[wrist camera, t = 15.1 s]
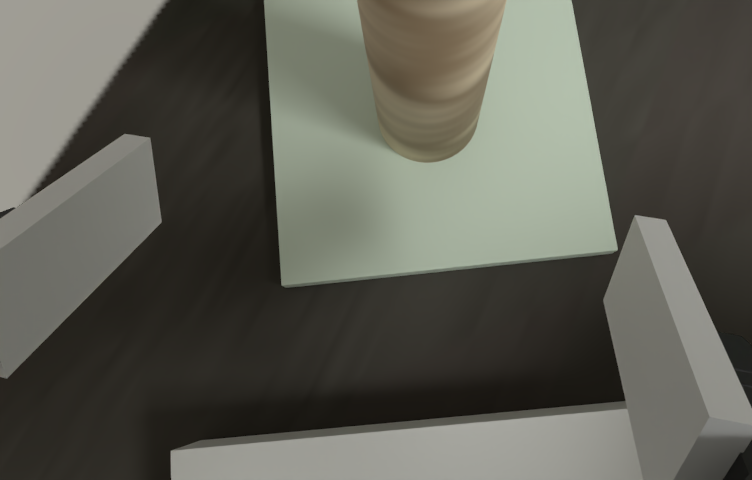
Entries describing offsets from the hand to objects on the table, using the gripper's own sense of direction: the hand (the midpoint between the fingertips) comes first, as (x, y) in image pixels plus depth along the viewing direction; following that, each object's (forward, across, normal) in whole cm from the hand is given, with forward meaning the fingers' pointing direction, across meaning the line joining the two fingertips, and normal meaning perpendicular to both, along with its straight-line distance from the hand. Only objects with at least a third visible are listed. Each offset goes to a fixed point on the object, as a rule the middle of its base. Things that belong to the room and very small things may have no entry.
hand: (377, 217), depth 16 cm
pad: (+12, 0, -2) cm, 12 cm away
